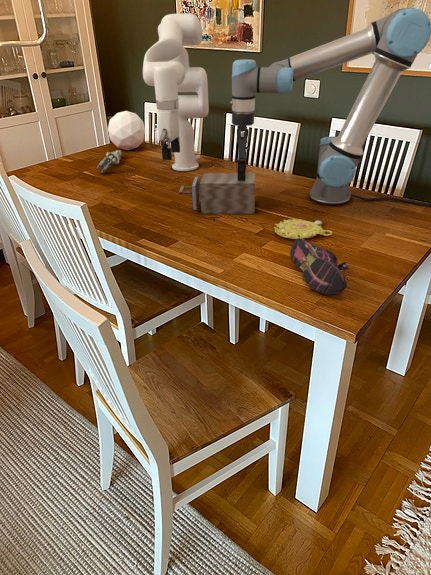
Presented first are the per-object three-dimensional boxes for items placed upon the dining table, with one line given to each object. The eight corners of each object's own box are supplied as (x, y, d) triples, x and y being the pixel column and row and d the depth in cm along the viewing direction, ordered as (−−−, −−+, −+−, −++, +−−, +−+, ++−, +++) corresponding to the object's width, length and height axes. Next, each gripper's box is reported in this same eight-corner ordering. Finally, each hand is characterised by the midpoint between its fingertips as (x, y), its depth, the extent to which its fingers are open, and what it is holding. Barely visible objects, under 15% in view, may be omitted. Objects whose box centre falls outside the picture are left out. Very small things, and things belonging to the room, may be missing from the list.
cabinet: (201, 213, 162) (199, 183, 156) (204, 202, 172) (203, 173, 165) (254, 213, 161) (255, 183, 154) (254, 202, 170) (255, 173, 164)
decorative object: (286, 211, 157) (342, 219, 147) (286, 217, 158) (341, 226, 148) (260, 233, 142) (319, 243, 133) (260, 240, 144) (319, 251, 134)
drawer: (178, 210, 163) (176, 185, 158) (182, 200, 171) (181, 176, 166) (242, 210, 161) (242, 185, 156) (243, 200, 169) (243, 176, 164)
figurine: (101, 154, 197) (119, 141, 223) (91, 167, 200) (110, 152, 227) (114, 165, 199) (130, 151, 225) (103, 178, 203) (121, 162, 229)
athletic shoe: (333, 284, 107) (372, 276, 111) (293, 223, 119) (330, 218, 123) (316, 311, 116) (353, 303, 120) (281, 252, 127) (315, 246, 132)
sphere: (121, 160, 244) (102, 128, 241) (152, 143, 246) (133, 111, 243) (119, 152, 225) (98, 116, 222) (153, 133, 227) (132, 97, 225)
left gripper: (165, 100, 158) (169, 149, 167) (148, 109, 143) (153, 162, 153) (185, 100, 156) (188, 149, 165) (169, 110, 142) (174, 163, 151)
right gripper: (233, 104, 158) (233, 163, 170) (230, 120, 137) (229, 186, 149) (254, 104, 158) (252, 163, 169) (254, 120, 137) (252, 186, 148)
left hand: (171, 155), depth 159 cm, fingers open, 9 cm apart
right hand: (241, 174), depth 159 cm, fingers open, 13 cm apart
